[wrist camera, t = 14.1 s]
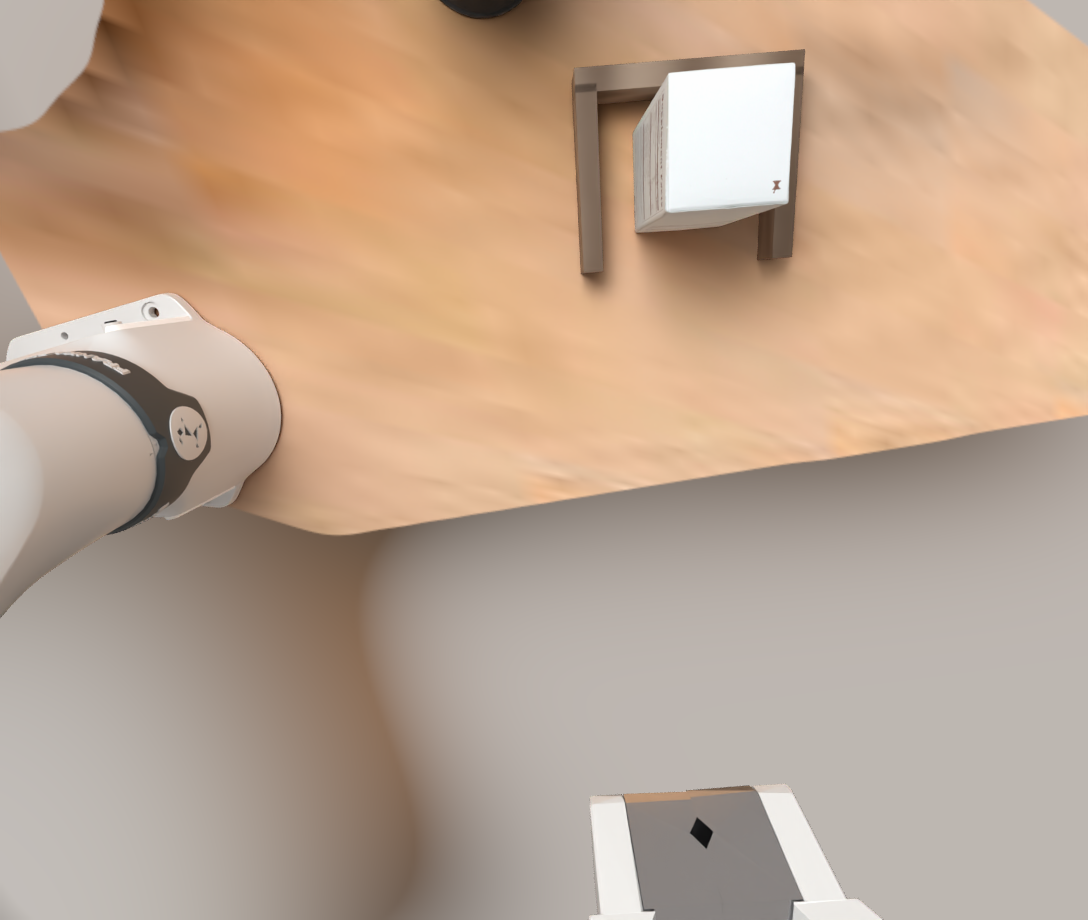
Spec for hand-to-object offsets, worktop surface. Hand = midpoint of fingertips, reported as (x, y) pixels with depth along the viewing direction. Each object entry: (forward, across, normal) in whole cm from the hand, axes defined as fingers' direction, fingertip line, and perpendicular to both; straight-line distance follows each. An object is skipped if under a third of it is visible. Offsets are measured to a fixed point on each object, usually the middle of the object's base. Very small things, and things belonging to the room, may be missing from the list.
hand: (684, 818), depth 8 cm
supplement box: (+41, -10, -15) cm, 45 cm away
